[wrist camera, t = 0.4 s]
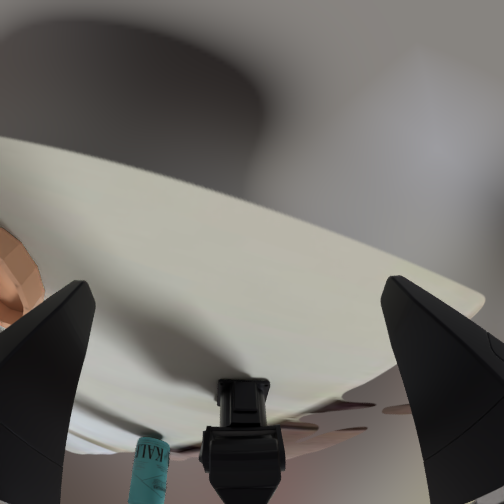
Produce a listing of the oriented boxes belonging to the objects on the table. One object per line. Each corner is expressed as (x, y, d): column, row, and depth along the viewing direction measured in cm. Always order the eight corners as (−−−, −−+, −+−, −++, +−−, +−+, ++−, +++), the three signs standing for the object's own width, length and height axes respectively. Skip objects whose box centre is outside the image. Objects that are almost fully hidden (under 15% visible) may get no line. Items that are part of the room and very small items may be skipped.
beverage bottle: (159, 444, 45) (151, 529, 27) (132, 432, 42) (118, 521, 25) (178, 439, 43) (171, 532, 25) (149, 426, 40) (136, 525, 23)
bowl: (55, 319, 27) (43, 339, 24) (-4, 304, 26) (-16, 320, 23) (27, 229, 21) (8, 245, 18) (-31, 226, 20) (-48, 239, 17)
